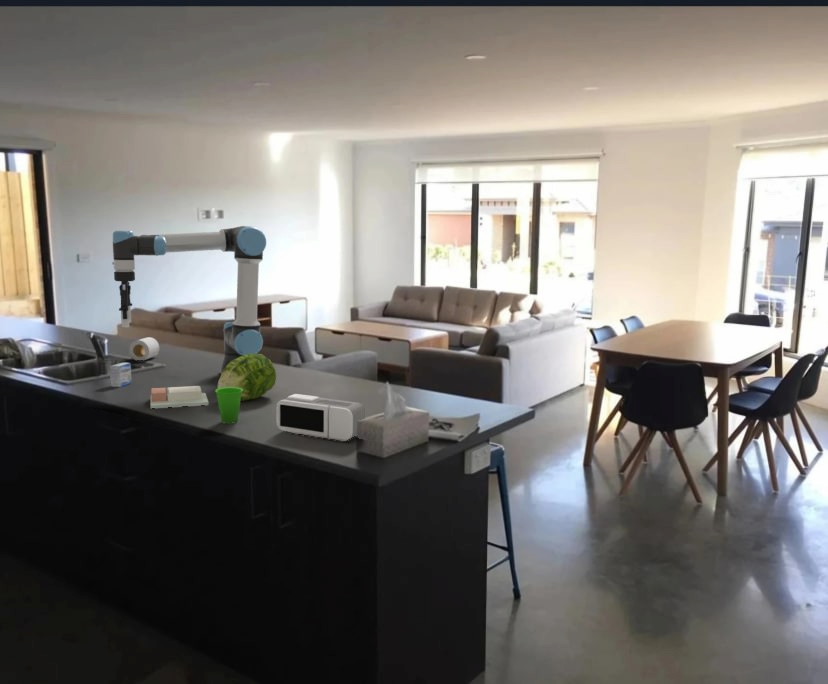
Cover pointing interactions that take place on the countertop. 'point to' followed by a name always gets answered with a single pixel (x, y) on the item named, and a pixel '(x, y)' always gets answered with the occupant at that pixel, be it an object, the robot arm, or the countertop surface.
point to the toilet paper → (139, 345)
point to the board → (179, 402)
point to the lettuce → (249, 375)
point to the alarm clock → (319, 416)
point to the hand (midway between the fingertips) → (126, 324)
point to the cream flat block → (184, 393)
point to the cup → (229, 403)
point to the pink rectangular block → (158, 394)
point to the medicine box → (120, 374)
